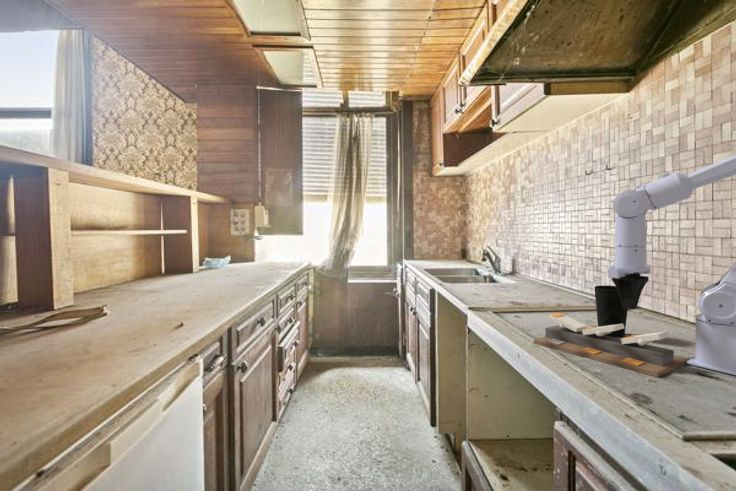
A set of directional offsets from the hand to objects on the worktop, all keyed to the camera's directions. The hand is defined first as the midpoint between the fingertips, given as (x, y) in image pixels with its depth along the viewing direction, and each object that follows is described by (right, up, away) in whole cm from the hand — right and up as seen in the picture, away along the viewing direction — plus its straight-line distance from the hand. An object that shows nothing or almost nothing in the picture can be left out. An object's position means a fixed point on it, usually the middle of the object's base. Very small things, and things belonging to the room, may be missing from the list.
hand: (629, 308), depth 82 cm
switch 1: (-10, -6, +7) cm, 14 cm away
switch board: (-5, -10, 0) cm, 11 cm away
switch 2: (-6, -6, 0) cm, 8 cm away
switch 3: (-1, -6, -7) cm, 9 cm away
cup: (+5, -9, +14) cm, 17 cm away
